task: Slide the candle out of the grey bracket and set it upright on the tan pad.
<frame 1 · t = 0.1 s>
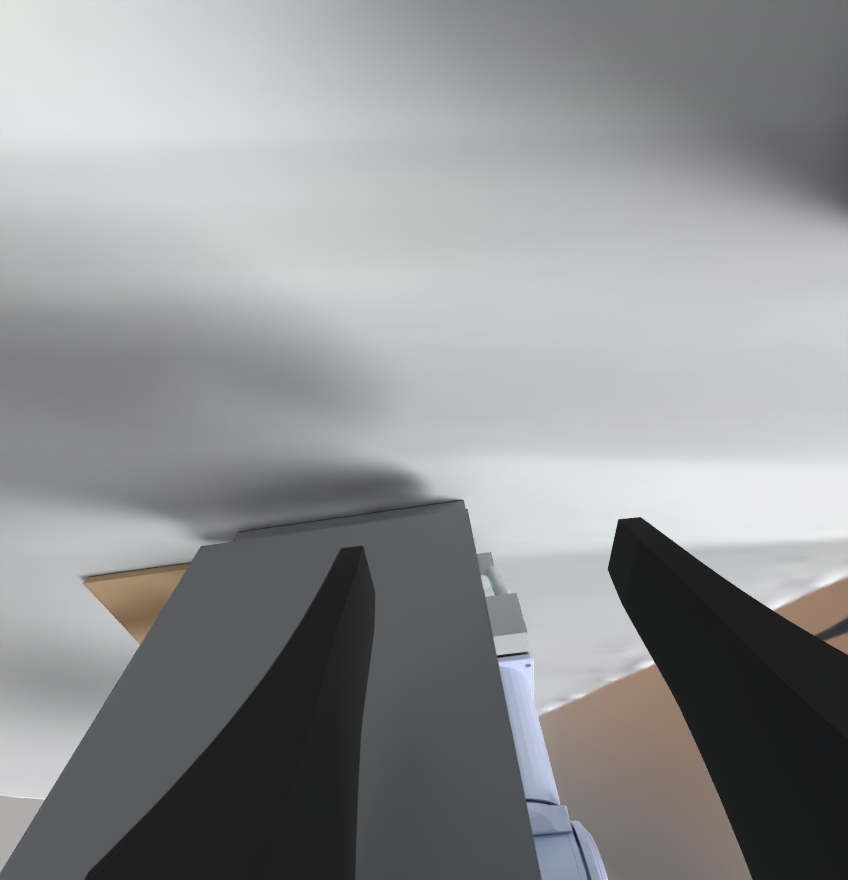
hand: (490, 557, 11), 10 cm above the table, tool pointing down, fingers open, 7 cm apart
grey bracket: (374, 590, 27), on the table
tan pad: (196, 613, 27), on the table
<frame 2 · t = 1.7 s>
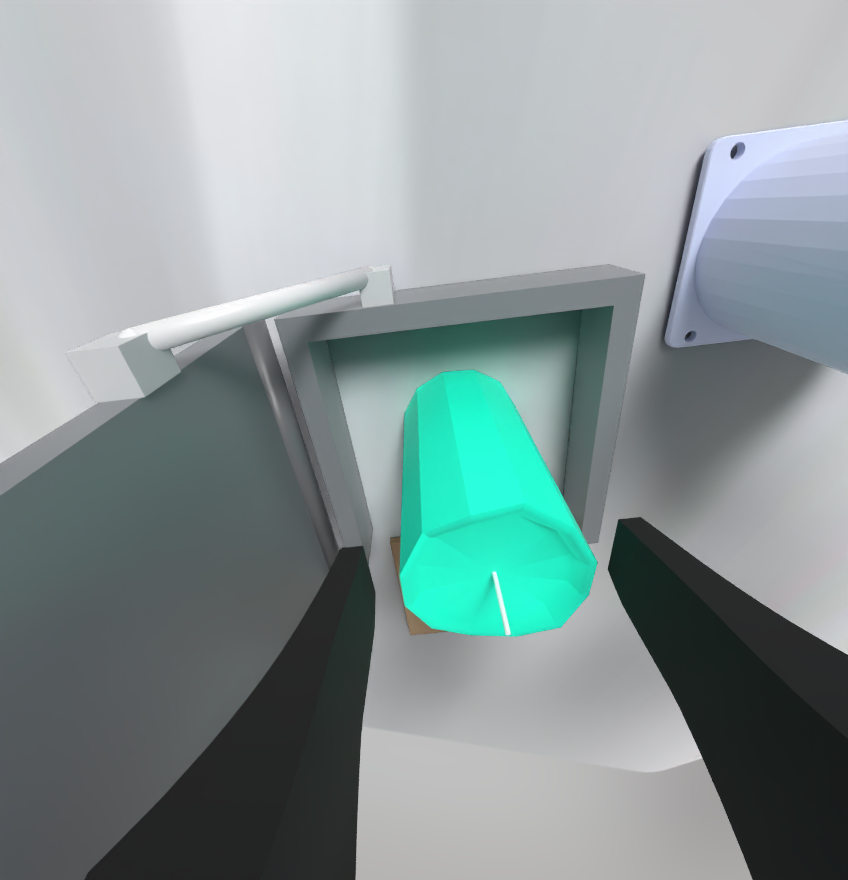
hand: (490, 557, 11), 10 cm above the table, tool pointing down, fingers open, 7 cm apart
grey bracket: (459, 421, 21), on the table
tan pad: (470, 580, 27), on the table
candle: (459, 419, 21), on the table
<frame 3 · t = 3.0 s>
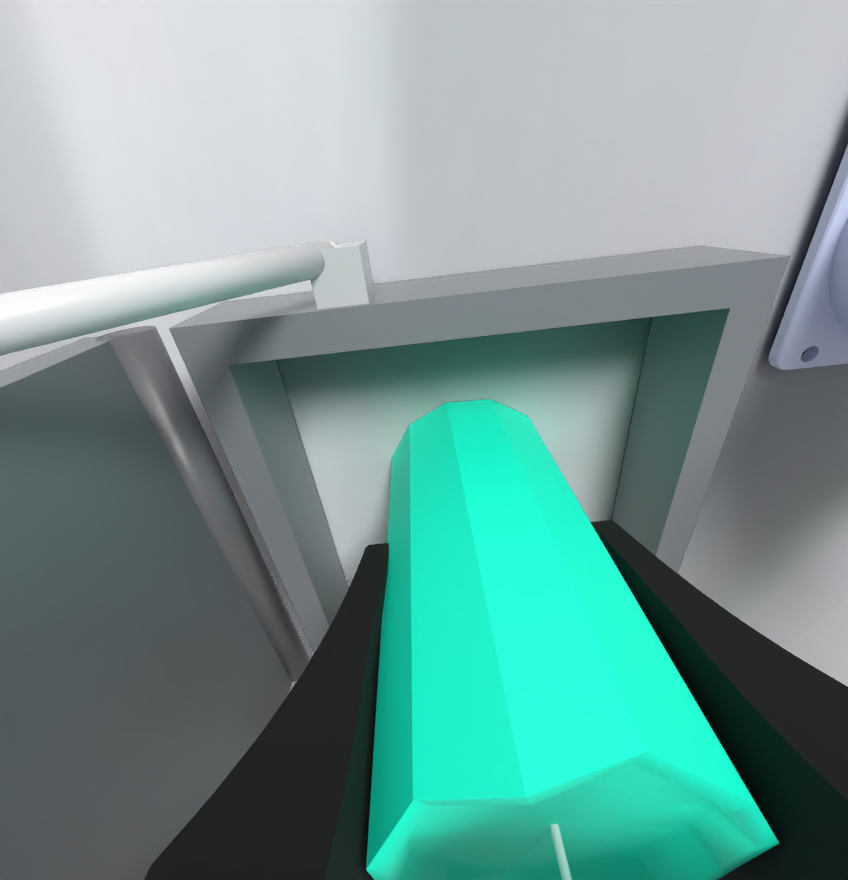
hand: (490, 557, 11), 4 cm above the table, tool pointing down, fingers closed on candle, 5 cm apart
grey bracket: (468, 468, 15), on the table
candle: (468, 465, 15), on the table, touching gripper
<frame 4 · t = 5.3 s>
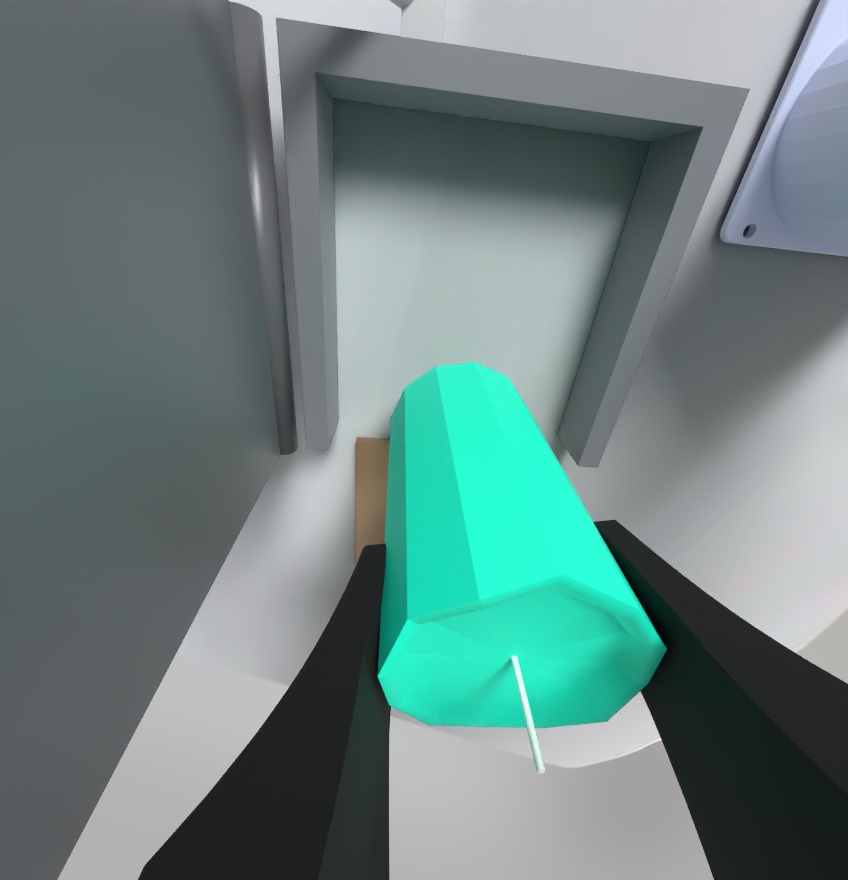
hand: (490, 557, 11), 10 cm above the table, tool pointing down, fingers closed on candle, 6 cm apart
grey bracket: (471, 291, 17), on the table
tan pad: (437, 511, 24), on the table
candle: (458, 423, 17), point 3 cm above the table, touching gripper
when the fingers open (5 cm above the table, at t = 7.7 s): candle stays where it is, resting on tan pad.
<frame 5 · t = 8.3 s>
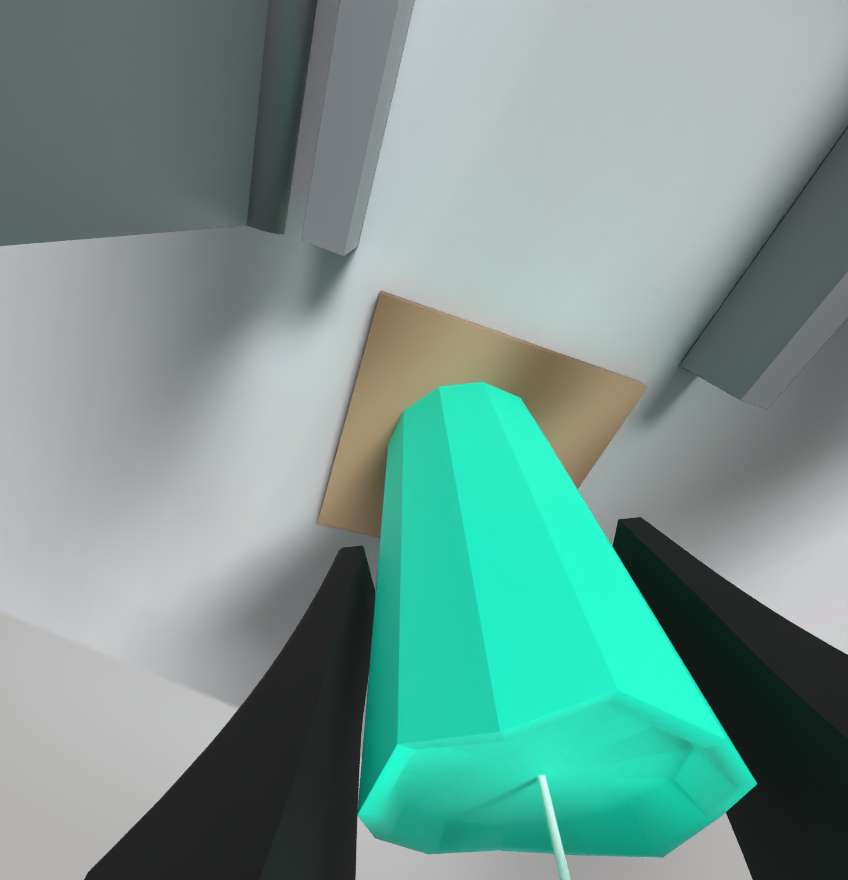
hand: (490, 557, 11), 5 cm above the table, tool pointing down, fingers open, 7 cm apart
grey bracket: (664, 34, 9), on the table
tan pad: (465, 454, 16), on the table
candle: (463, 449, 15), resting on tan pad
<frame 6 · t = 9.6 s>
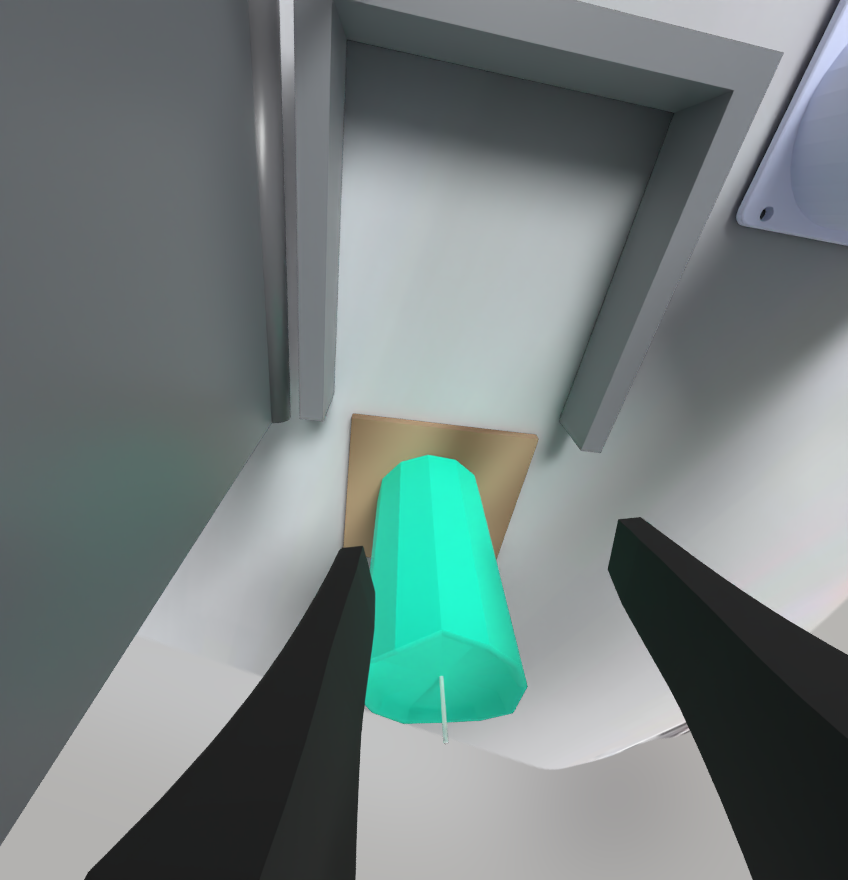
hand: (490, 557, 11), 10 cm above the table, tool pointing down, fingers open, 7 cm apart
grey bracket: (480, 262, 16), on the table
tan pad: (431, 496, 23), on the table
candle: (428, 495, 22), resting on tan pad
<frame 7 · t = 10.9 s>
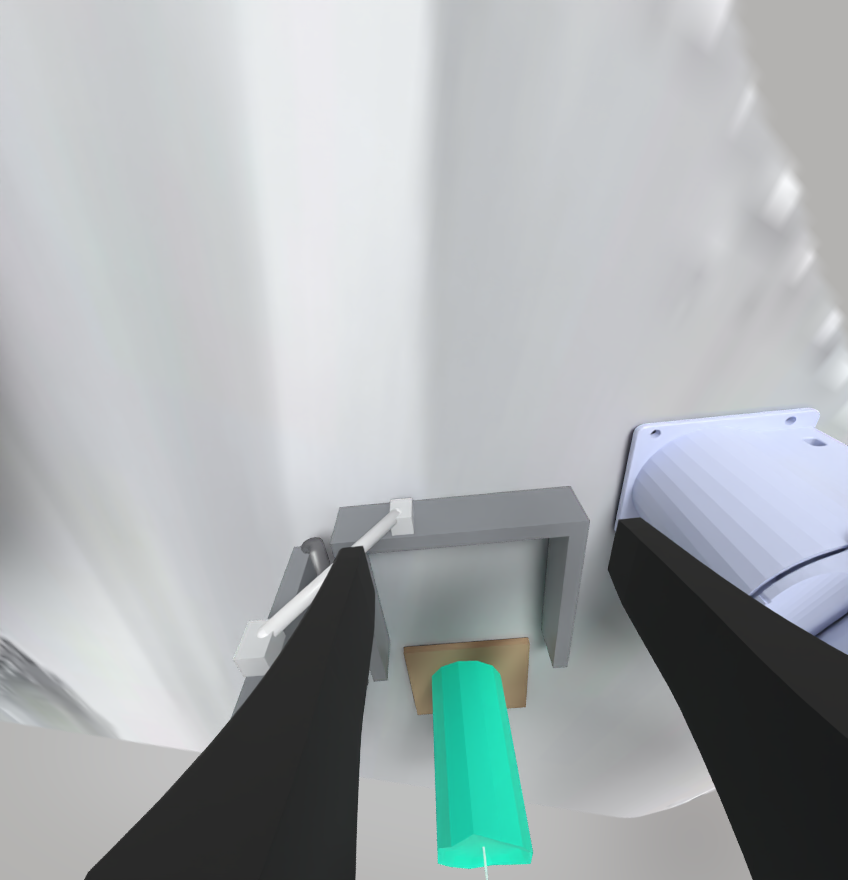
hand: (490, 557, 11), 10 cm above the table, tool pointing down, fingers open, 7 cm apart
grey bracket: (460, 575, 27), on the table
tan pad: (468, 676, 33), on the table
candle: (465, 677, 33), resting on tan pad
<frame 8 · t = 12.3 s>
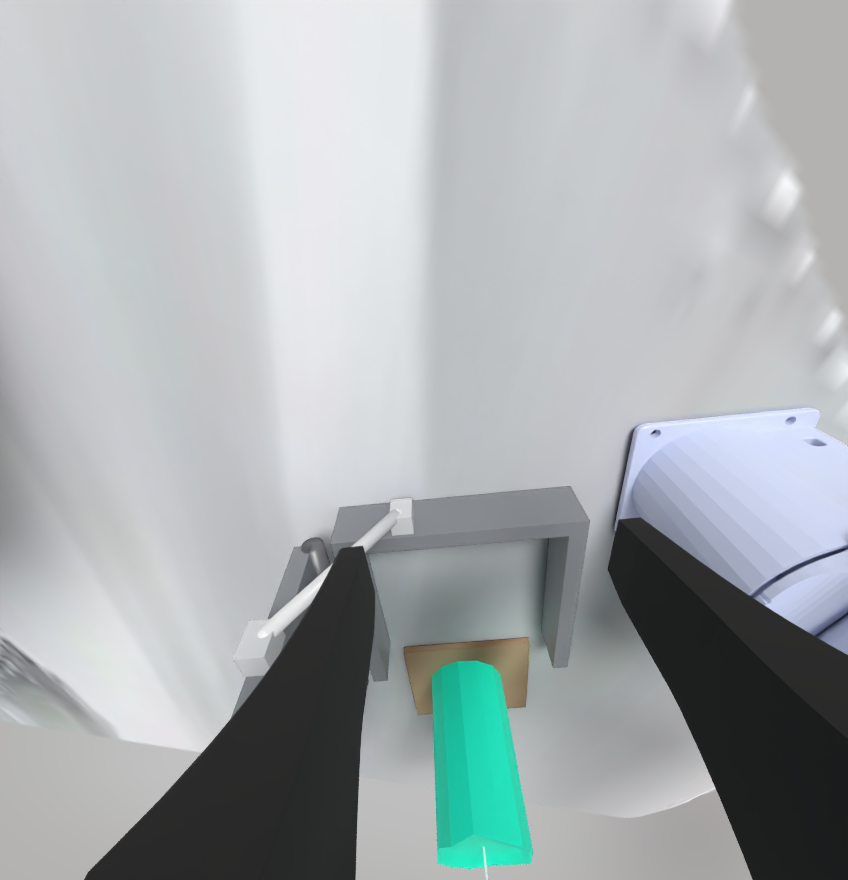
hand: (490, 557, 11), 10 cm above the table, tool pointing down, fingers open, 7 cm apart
grey bracket: (460, 575, 27), on the table
tan pad: (468, 676, 33), on the table
candle: (465, 677, 33), resting on tan pad
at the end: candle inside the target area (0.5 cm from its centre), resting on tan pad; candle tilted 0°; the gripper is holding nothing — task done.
